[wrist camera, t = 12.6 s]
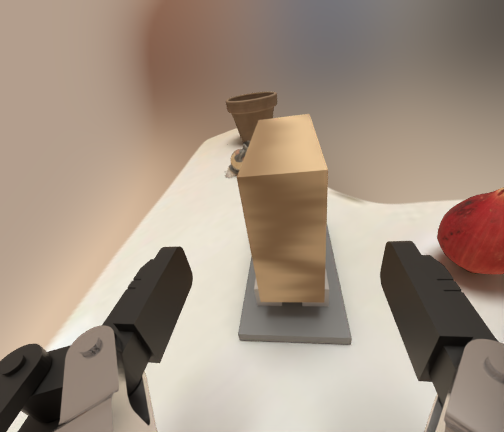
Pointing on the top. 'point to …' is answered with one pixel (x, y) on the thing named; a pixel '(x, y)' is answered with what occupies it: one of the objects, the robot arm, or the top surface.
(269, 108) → the flower pot
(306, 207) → the brown rectangular block
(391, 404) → the top surface
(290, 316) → the peg stand
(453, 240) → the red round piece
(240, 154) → the vase
